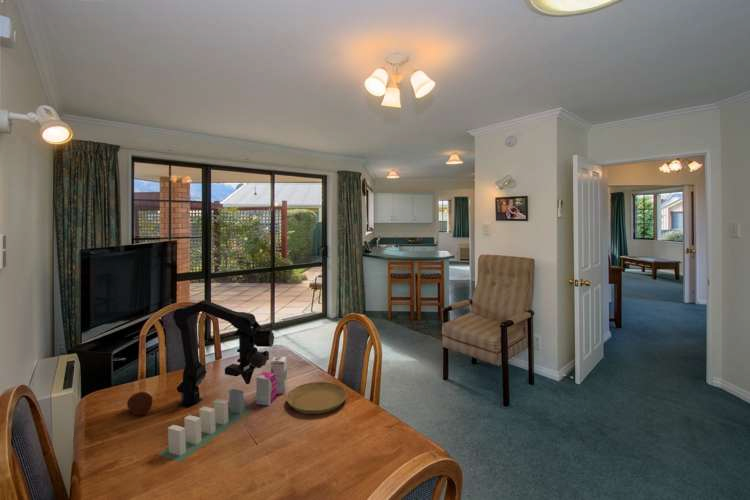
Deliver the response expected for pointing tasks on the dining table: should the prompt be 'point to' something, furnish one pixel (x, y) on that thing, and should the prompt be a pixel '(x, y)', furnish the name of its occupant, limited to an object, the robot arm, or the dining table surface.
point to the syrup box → (280, 373)
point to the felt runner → (206, 436)
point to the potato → (140, 403)
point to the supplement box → (266, 389)
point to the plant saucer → (316, 397)
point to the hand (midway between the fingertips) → (247, 383)
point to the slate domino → (236, 401)
